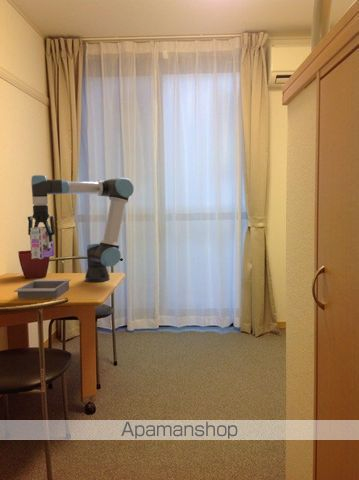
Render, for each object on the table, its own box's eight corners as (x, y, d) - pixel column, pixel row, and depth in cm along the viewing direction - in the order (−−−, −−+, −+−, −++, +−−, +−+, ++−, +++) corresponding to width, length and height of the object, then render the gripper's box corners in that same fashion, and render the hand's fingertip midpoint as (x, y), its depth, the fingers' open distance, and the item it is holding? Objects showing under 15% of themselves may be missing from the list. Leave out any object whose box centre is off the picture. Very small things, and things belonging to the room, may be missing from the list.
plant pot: (19, 275, 255) (18, 250, 254) (48, 272, 263) (47, 249, 261) (19, 280, 238) (18, 254, 236) (51, 277, 246) (50, 252, 244)
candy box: (41, 259, 193) (39, 227, 192) (30, 259, 195) (29, 227, 193) (54, 255, 207) (53, 225, 205) (45, 255, 208) (43, 225, 206)
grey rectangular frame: (71, 287, 215) (70, 279, 215) (54, 300, 188) (53, 290, 188) (36, 287, 216) (35, 279, 215) (14, 300, 189) (13, 290, 188)
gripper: (60, 204, 201) (63, 247, 204) (25, 205, 202) (27, 247, 204) (56, 204, 194) (58, 248, 196) (19, 205, 194) (21, 249, 197)
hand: (42, 248), depth 200 cm, fingers closed on candy box, 6 cm apart
